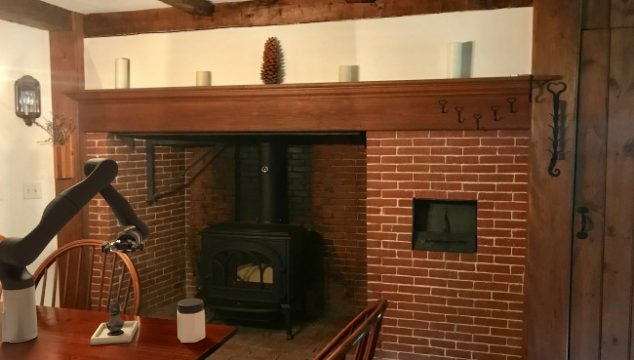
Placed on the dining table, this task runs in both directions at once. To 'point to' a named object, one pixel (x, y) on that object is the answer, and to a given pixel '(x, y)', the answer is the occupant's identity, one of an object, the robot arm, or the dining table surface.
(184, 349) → the dining table surface
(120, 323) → the salt shaker
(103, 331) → the tray
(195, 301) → the jar
